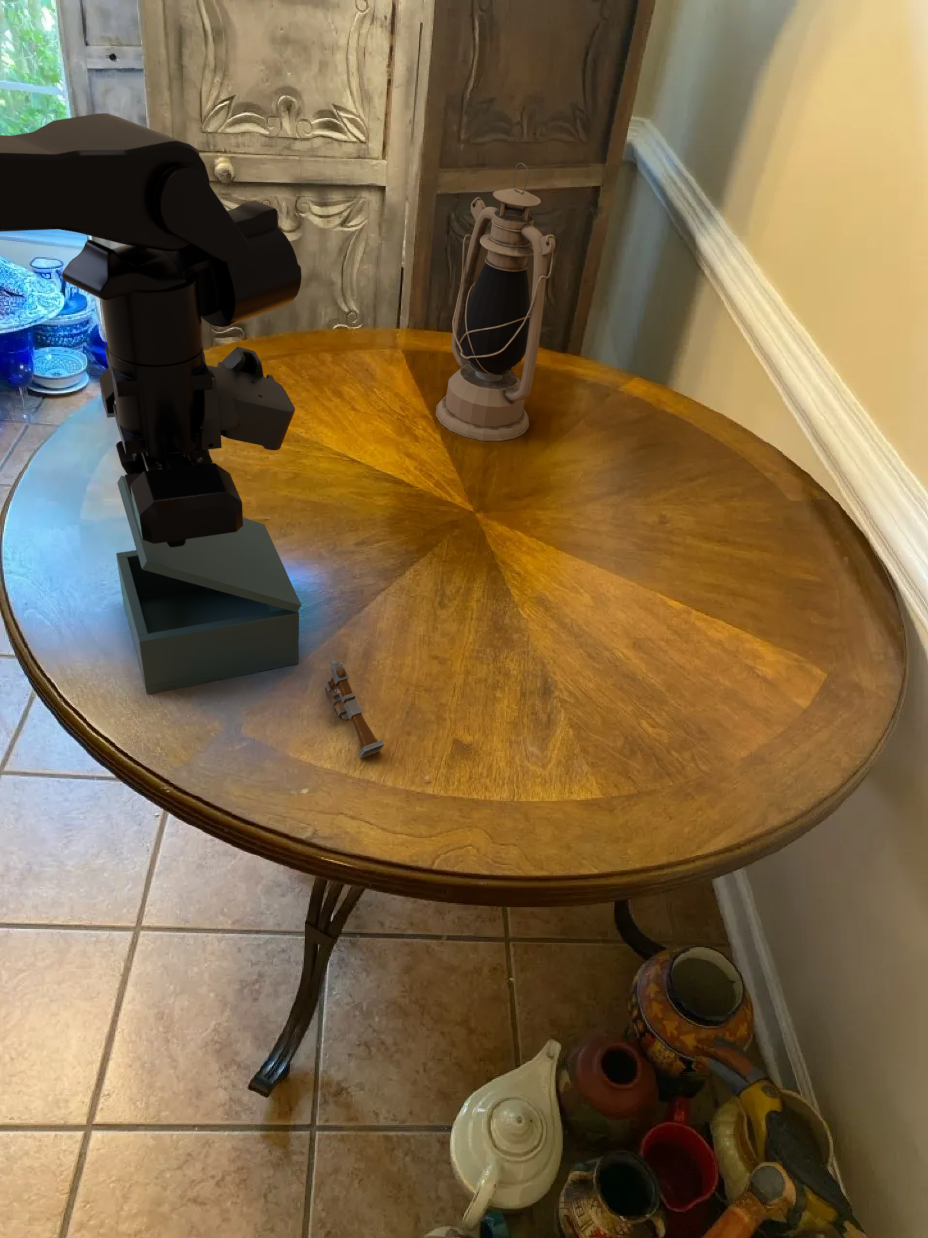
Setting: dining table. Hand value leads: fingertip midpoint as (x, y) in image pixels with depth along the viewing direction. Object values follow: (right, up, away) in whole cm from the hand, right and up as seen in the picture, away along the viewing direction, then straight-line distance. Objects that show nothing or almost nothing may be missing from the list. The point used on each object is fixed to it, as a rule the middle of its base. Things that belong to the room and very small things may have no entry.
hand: (176, 543), depth 68 cm
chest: (-1, -7, +12) cm, 14 cm away
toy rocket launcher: (+12, -15, +6) cm, 20 cm away
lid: (0, 0, +7) cm, 7 cm away
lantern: (+24, +20, +49) cm, 58 cm away
